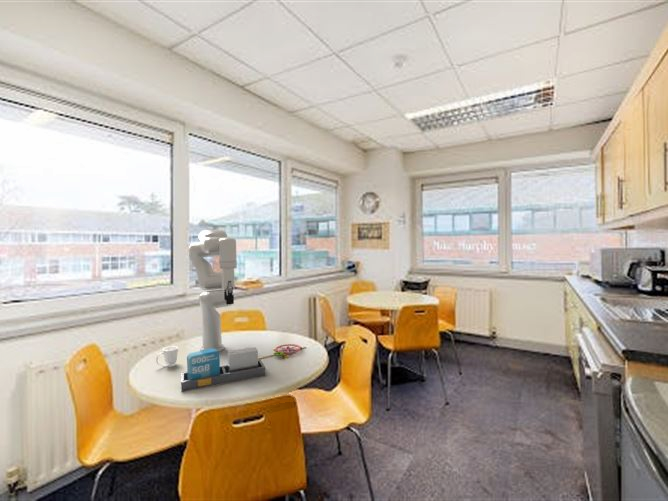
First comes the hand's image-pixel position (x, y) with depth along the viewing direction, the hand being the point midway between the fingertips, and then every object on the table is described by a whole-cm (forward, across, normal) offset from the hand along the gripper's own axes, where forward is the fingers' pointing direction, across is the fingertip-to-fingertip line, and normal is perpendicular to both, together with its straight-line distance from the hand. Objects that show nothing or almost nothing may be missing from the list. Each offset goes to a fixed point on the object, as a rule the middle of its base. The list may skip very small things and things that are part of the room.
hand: (229, 301), depth 156 cm
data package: (+30, +13, -12) cm, 34 cm away
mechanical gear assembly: (+31, -6, +25) cm, 41 cm away
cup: (+31, -13, -27) cm, 43 cm away
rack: (+30, +14, -4) cm, 33 cm away
